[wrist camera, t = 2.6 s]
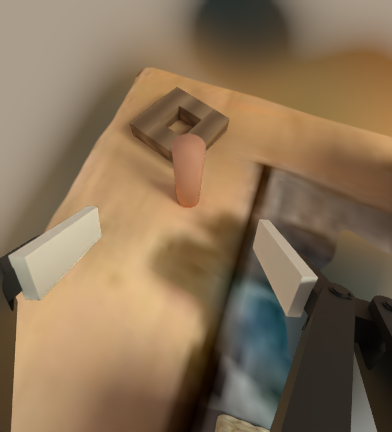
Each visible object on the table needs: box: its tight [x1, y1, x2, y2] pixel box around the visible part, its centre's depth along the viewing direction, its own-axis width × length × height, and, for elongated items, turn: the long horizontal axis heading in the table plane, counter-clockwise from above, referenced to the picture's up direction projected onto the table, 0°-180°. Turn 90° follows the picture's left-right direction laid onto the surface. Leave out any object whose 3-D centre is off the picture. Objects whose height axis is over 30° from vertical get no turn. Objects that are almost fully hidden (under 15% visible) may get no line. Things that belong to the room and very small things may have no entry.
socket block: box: [130, 87, 229, 163], centre depth 37 cm, size 14×14×3 cm
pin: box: [171, 134, 206, 208], centre depth 27 cm, size 4×4×13 cm
